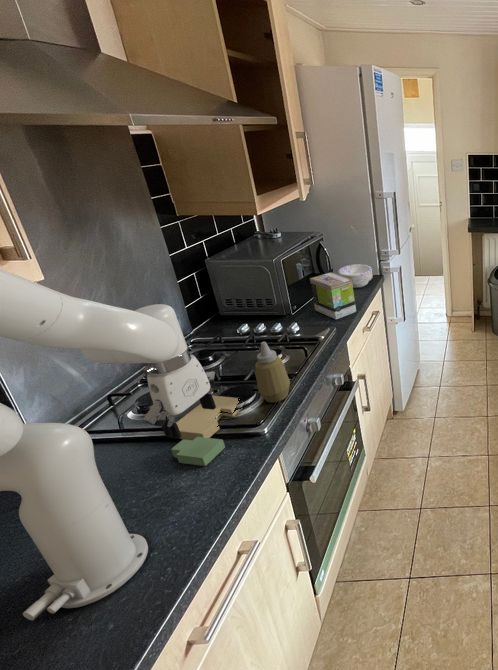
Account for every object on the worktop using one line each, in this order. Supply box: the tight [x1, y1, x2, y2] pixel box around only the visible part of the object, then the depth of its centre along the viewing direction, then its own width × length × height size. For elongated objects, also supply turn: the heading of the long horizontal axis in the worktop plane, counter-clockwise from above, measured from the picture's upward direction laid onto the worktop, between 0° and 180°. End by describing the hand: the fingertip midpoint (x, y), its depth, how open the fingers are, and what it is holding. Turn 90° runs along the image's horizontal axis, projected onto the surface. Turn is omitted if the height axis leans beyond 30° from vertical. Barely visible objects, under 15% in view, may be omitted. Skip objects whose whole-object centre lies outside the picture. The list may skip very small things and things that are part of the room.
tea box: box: [309, 271, 357, 320], centre depth 170 cm, size 15×10×15 cm, turn 54°
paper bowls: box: [337, 263, 374, 289], centre depth 199 cm, size 15×15×8 cm
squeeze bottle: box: [254, 341, 291, 404], centre depth 117 cm, size 8×8×18 cm
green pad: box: [170, 437, 226, 467], centre depth 99 cm, size 6×10×2 cm, turn 82°
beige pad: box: [175, 394, 244, 440], centre depth 110 cm, size 14×10×2 cm
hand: (192, 422), depth 96 cm, fingers open, 9 cm apart
